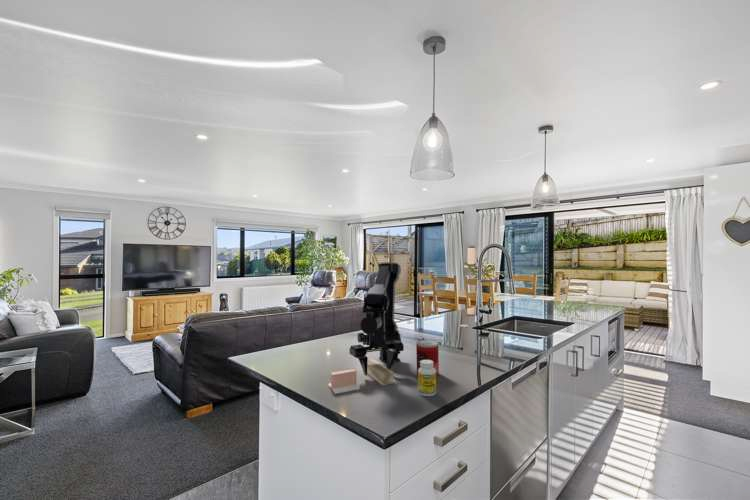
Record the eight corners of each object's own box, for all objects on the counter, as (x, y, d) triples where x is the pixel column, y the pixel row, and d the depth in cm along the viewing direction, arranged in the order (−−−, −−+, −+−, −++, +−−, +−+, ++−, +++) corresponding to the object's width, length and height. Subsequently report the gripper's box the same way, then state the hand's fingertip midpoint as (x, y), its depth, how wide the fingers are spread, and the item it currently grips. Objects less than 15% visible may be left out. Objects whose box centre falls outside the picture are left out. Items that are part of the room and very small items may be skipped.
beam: (372, 369, 125) (372, 359, 125) (393, 384, 111) (393, 371, 111) (362, 371, 124) (362, 360, 124) (382, 386, 109) (382, 373, 109)
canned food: (440, 371, 122) (439, 340, 122) (436, 378, 114) (436, 346, 115) (419, 369, 124) (418, 339, 125) (414, 376, 117) (414, 344, 117)
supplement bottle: (432, 389, 106) (431, 358, 106) (439, 395, 100) (438, 363, 101) (415, 390, 104) (415, 359, 105) (422, 397, 99) (421, 364, 99)
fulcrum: (351, 381, 112) (351, 366, 113) (359, 389, 106) (359, 373, 106) (328, 386, 109) (328, 370, 109) (335, 393, 103) (335, 377, 103)
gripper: (389, 321, 129) (389, 362, 129) (343, 326, 121) (343, 370, 120) (404, 327, 119) (404, 371, 119) (355, 332, 111) (356, 380, 110)
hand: (377, 373), depth 117 cm, fingers open, 9 cm apart
